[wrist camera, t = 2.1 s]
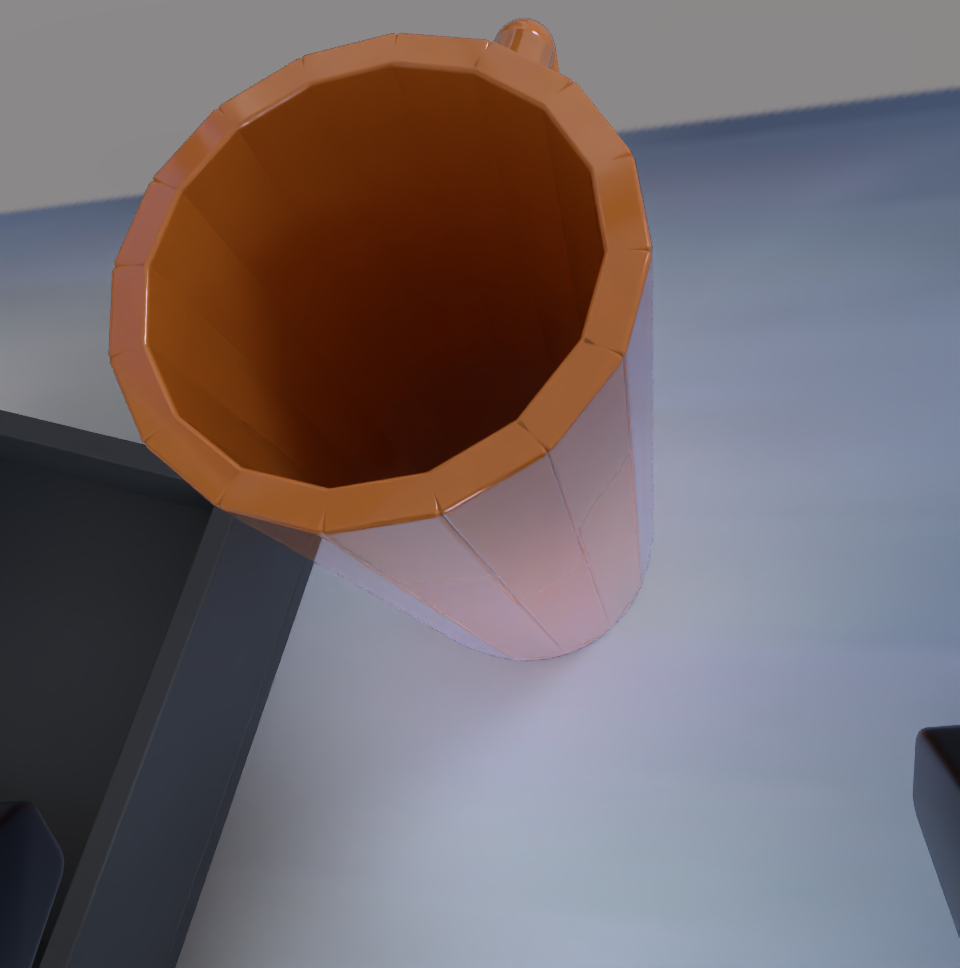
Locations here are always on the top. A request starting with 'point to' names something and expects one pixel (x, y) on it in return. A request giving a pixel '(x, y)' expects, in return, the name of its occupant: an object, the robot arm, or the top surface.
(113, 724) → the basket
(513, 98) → the tall orange mug
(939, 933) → the top surface
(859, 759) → the top surface
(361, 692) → the top surface
